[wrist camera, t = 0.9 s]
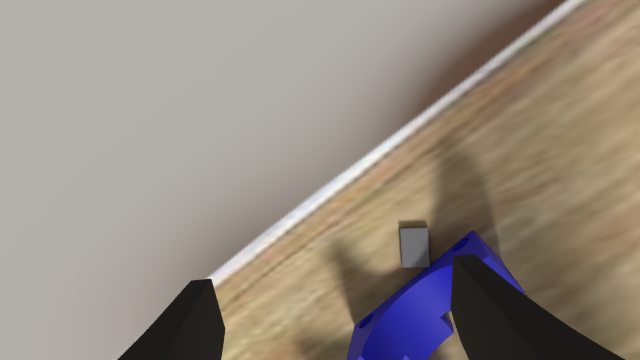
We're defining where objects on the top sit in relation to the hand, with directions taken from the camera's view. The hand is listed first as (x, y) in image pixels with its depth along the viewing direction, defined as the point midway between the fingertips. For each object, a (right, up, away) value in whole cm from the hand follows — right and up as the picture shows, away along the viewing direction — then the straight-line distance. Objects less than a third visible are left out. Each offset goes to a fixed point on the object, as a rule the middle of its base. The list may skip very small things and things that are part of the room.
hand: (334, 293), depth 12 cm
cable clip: (+8, -6, +19) cm, 22 cm away
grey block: (+7, -2, +18) cm, 20 cm away
